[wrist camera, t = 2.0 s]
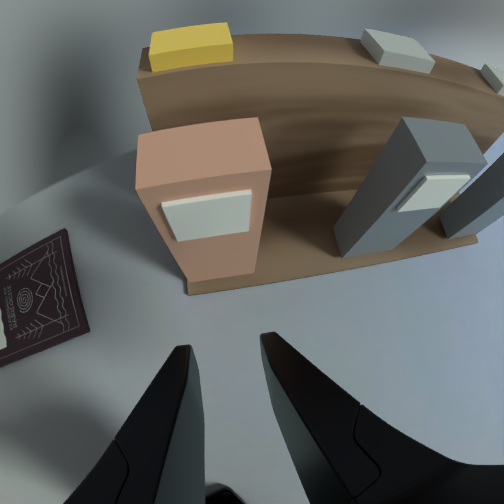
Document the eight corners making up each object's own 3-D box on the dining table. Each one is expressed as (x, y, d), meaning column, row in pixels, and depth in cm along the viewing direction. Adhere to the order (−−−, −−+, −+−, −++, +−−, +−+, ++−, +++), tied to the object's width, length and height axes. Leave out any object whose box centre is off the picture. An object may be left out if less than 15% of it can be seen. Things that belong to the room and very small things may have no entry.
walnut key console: (476, 243, 23) (574, 171, 10) (188, 295, 21) (113, 189, 8) (441, 161, 27) (510, 73, 13) (178, 181, 24) (139, 33, 11)
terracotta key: (254, 275, 21) (273, 174, 10) (189, 285, 20) (135, 194, 9) (248, 239, 22) (257, 117, 10) (185, 249, 21) (138, 134, 10)
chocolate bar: (87, 330, 19) (-39, 380, 16) (92, 332, 20) (-33, 381, 17) (64, 228, 22) (-50, 297, 18) (69, 232, 23) (-45, 299, 19)
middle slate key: (392, 252, 22) (489, 167, 11) (342, 261, 21) (428, 165, 10) (382, 221, 23) (464, 124, 11) (333, 227, 22) (402, 116, 11)
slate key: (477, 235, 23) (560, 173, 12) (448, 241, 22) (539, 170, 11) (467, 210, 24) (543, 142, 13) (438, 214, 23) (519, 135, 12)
